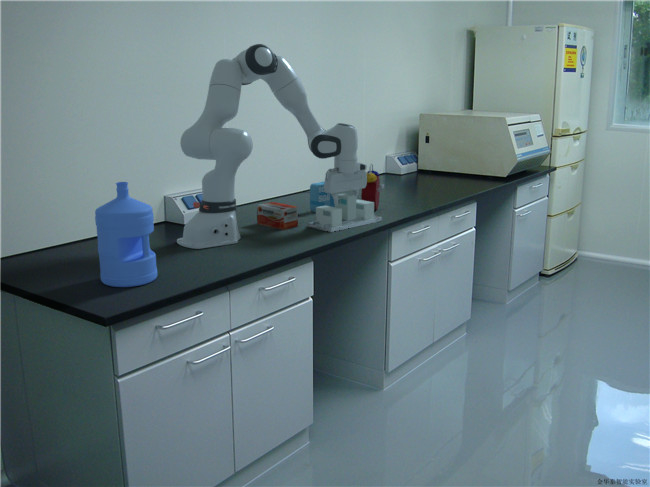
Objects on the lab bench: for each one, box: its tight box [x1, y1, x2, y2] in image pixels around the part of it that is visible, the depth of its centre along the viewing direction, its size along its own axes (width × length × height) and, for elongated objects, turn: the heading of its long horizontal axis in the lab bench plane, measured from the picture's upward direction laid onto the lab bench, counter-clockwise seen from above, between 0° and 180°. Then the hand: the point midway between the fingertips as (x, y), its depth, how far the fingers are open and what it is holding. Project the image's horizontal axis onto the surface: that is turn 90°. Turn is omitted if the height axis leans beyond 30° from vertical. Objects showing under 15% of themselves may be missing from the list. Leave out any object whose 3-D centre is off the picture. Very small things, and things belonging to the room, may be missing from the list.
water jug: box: [94, 181, 158, 288], centre depth 185 cm, size 16×16×28 cm
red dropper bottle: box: [360, 163, 385, 211], centre depth 280 cm, size 15×9×20 cm, turn 168°
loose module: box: [335, 193, 356, 220], centre depth 255 cm, size 5×7×9 cm, turn 44°
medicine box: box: [256, 201, 299, 231], centre depth 254 cm, size 15×8×8 cm, turn 47°
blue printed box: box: [309, 181, 335, 213], centre depth 280 cm, size 12×4×12 cm, turn 136°
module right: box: [356, 198, 375, 219], centre depth 262 cm, size 5×9×6 cm, turn 44°
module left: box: [315, 205, 342, 227], centre depth 250 cm, size 5×9×6 cm, turn 44°
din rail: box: [307, 213, 383, 233], centre depth 257 cm, size 28×13×2 cm, turn 134°
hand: (345, 202), depth 255 cm, fingers open, 8 cm apart
